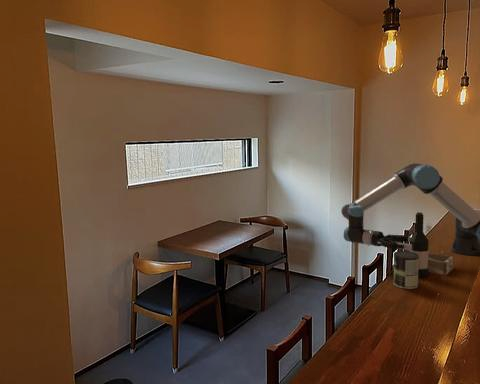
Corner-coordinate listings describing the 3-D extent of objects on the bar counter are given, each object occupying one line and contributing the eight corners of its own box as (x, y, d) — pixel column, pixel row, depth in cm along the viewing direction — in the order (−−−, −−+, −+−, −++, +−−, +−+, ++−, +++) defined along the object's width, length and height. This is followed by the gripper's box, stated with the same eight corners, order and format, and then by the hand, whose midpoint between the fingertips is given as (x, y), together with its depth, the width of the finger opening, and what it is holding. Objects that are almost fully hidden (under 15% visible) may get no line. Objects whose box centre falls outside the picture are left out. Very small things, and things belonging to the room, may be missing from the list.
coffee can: (392, 287, 174) (392, 256, 172) (394, 279, 183) (394, 250, 181) (417, 290, 169) (418, 258, 167) (418, 282, 178) (419, 252, 176)
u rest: (427, 263, 203) (427, 252, 202) (453, 268, 194) (453, 256, 194) (418, 270, 194) (418, 258, 193) (445, 275, 185) (446, 262, 185)
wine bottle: (430, 278, 183) (431, 214, 179) (410, 277, 184) (412, 214, 180) (425, 272, 191) (426, 211, 187) (407, 271, 192) (408, 211, 188)
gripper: (383, 240, 210) (425, 246, 195) (362, 251, 192) (406, 258, 177) (384, 226, 209) (426, 231, 194) (362, 235, 191) (407, 242, 176)
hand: (417, 244), depth 186 cm, fingers open, 13 cm apart
